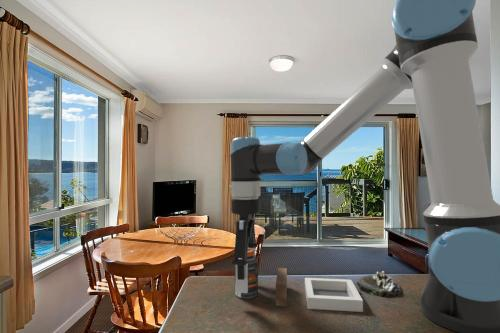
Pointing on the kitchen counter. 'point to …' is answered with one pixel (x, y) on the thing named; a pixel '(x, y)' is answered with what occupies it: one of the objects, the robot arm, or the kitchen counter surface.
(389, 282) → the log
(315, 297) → the plate
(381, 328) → the kitchen counter surface
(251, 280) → the pill bottle
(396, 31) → the robot arm
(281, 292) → the door edge
